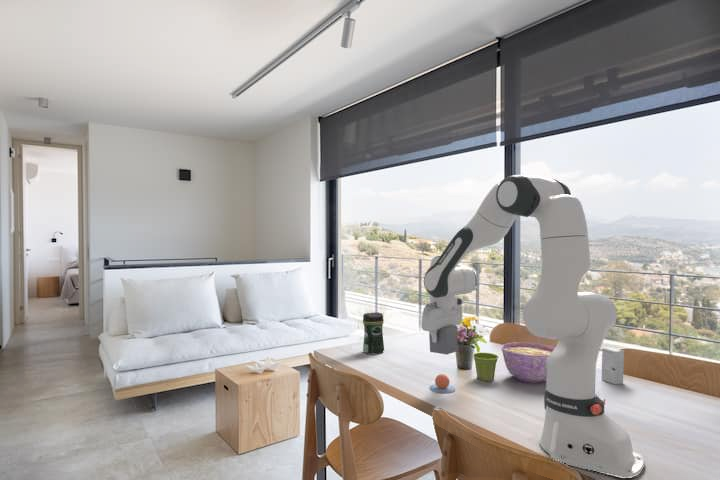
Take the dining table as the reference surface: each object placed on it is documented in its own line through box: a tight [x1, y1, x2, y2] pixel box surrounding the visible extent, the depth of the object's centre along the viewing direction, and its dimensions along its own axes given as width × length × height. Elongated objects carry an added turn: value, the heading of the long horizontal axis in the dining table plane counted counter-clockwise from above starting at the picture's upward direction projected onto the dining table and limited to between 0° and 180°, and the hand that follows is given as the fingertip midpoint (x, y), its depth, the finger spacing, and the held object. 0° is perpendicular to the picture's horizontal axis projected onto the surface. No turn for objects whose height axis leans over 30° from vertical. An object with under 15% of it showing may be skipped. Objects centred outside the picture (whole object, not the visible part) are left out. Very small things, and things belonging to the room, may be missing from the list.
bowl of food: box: [501, 341, 556, 384], centre depth 162 cm, size 20×20×12 cm
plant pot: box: [472, 352, 499, 382], centre depth 163 cm, size 9×9×9 cm
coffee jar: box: [362, 312, 385, 354], centre depth 202 cm, size 10×8×19 cm
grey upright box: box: [428, 325, 459, 356], centre depth 151 cm, size 7×7×9 cm
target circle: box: [429, 384, 456, 394], centre depth 152 cm, size 9×9×1 cm
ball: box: [434, 373, 450, 389], centre depth 152 cm, size 5×5×5 cm
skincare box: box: [601, 346, 625, 385], centre depth 159 cm, size 6×4×12 cm
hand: (442, 340), depth 152 cm, fingers closed on grey upright box, 7 cm apart
